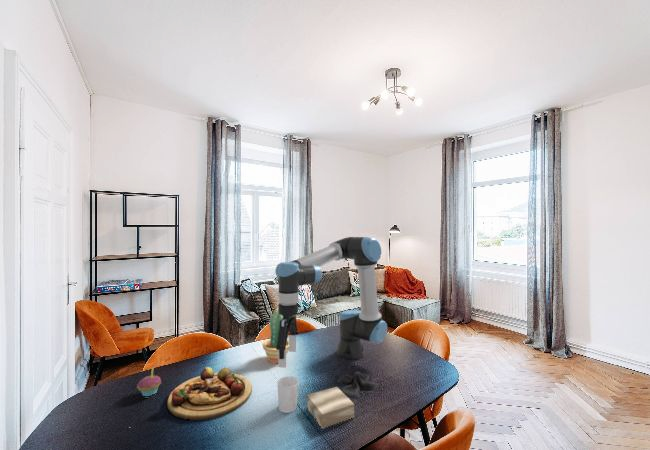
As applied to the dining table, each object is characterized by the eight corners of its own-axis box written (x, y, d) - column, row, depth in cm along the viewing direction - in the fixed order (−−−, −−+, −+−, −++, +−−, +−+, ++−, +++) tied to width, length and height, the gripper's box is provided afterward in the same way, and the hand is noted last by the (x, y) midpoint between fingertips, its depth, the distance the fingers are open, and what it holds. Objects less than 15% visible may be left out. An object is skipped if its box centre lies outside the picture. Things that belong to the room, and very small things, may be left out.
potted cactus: (296, 360, 150) (297, 312, 150) (269, 368, 141) (269, 317, 141) (283, 350, 163) (283, 305, 163) (257, 357, 154) (257, 309, 154)
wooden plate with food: (165, 433, 97) (166, 408, 97) (167, 386, 125) (168, 367, 125) (260, 408, 111) (260, 386, 112) (243, 371, 140) (243, 354, 140)
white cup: (294, 415, 106) (294, 388, 106) (274, 412, 107) (274, 385, 107) (300, 403, 113) (300, 377, 114) (281, 400, 115) (281, 375, 115)
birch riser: (307, 408, 110) (307, 394, 110) (336, 399, 116) (336, 386, 116) (322, 429, 99) (322, 414, 99) (354, 417, 104) (354, 404, 105)
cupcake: (165, 390, 121) (166, 362, 122) (147, 402, 113) (147, 371, 114) (150, 387, 124) (151, 359, 124) (131, 398, 116) (132, 368, 116)
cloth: (342, 402, 115) (343, 386, 115) (330, 378, 133) (330, 365, 133) (393, 394, 120) (393, 379, 121) (375, 373, 138) (375, 360, 138)
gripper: (288, 295, 124) (287, 345, 123) (267, 311, 99) (266, 373, 99) (305, 296, 123) (304, 346, 122) (288, 312, 98) (287, 375, 98)
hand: (287, 358), depth 110 cm, fingers open, 13 cm apart
